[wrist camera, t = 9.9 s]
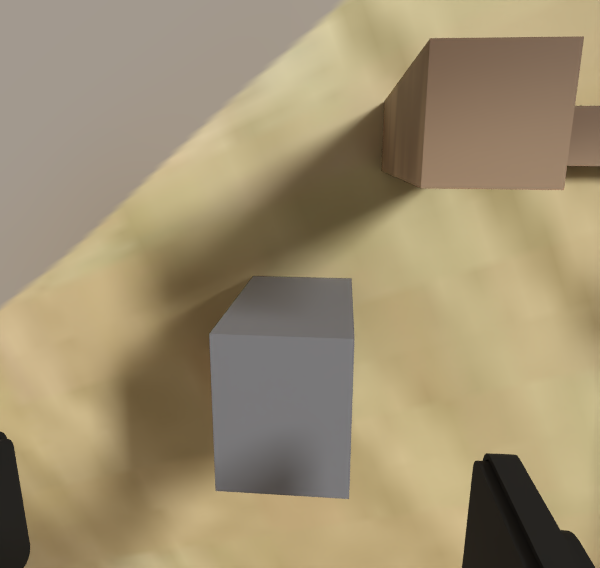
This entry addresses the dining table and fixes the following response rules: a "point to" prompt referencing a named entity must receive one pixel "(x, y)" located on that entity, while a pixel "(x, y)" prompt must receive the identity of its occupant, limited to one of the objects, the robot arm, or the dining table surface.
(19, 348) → the dining table surface
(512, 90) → the door frame
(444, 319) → the dining table surface
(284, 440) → the block
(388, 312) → the dining table surface
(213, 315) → the dining table surface
